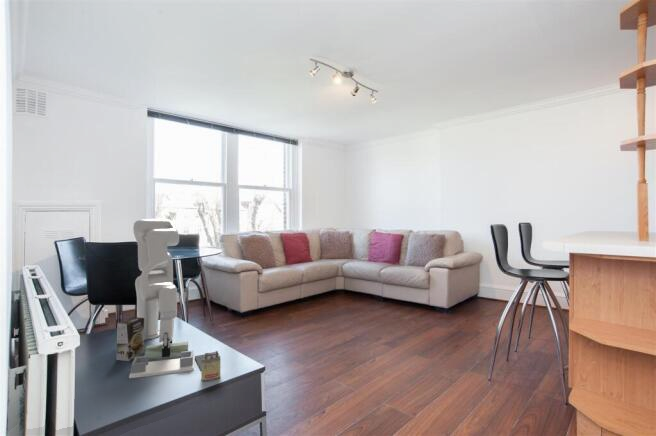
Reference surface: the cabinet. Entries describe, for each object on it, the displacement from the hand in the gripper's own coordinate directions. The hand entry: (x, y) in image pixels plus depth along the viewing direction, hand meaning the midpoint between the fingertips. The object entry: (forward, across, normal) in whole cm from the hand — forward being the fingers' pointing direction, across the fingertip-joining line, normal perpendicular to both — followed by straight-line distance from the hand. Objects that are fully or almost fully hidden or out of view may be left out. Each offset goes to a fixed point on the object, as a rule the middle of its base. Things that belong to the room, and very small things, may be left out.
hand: (167, 352), depth 151 cm
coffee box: (+2, -4, -15) cm, 16 cm away
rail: (+2, 0, 0) cm, 2 cm away
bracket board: (+2, +12, 0) cm, 13 cm away
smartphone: (+2, +12, +16) cm, 20 cm away
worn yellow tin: (+2, +27, +18) cm, 33 cm away
